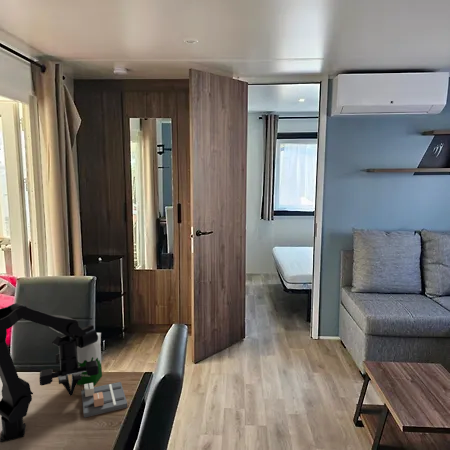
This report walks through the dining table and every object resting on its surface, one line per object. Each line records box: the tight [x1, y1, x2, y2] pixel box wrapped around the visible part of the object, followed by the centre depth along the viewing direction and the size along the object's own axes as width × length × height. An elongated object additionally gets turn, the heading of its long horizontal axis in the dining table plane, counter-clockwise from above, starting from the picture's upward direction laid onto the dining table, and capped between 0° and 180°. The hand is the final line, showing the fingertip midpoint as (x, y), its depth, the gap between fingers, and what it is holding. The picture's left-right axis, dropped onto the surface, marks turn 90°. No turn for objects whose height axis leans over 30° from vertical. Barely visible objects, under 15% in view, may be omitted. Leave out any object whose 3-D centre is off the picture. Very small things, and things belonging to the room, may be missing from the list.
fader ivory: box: [83, 383, 94, 397], centre depth 138 cm, size 4×3×3 cm
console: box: [80, 381, 128, 418], centre depth 137 cm, size 15×14×2 cm
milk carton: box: [76, 332, 103, 387], centre depth 149 cm, size 9×9×20 cm
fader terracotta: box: [93, 392, 104, 407], centre depth 132 cm, size 4×3×3 cm
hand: (71, 395), depth 136 cm, fingers closed
